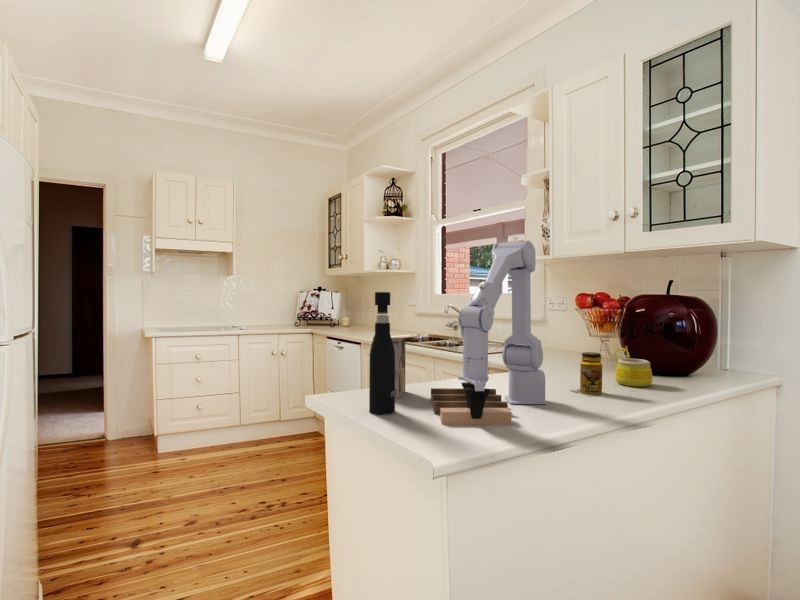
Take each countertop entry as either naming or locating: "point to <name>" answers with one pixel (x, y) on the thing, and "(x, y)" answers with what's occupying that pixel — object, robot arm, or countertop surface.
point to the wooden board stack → (461, 399)
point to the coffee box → (399, 365)
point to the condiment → (591, 375)
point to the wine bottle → (382, 362)
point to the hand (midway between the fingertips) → (474, 415)
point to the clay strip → (465, 418)
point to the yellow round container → (633, 371)
